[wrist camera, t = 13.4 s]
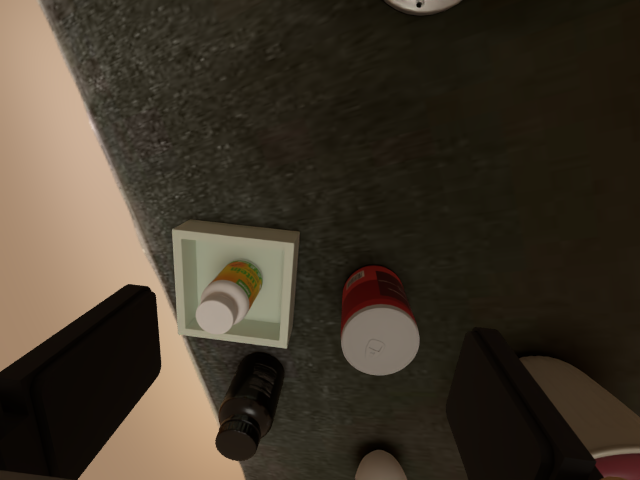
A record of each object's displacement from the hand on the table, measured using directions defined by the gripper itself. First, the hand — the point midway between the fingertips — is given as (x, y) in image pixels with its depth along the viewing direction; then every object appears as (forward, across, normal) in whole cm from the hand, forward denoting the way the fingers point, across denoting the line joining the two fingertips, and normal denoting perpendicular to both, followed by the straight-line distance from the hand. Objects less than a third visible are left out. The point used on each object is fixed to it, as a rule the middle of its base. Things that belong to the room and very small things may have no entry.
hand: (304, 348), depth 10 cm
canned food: (+31, -6, +13) cm, 34 cm away
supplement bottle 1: (+30, +11, +13) cm, 34 cm away
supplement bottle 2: (+31, +8, +28) cm, 42 cm away
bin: (+30, +11, +13) cm, 35 cm away
